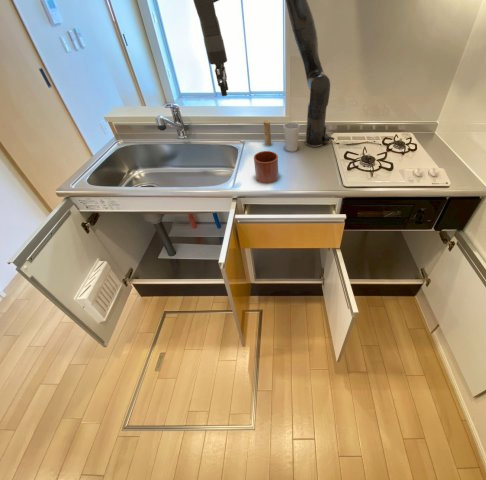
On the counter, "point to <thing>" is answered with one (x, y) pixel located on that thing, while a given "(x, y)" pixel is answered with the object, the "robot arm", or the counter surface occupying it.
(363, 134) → the counter surface
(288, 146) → the cup
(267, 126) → the utensil
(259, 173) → the crock
